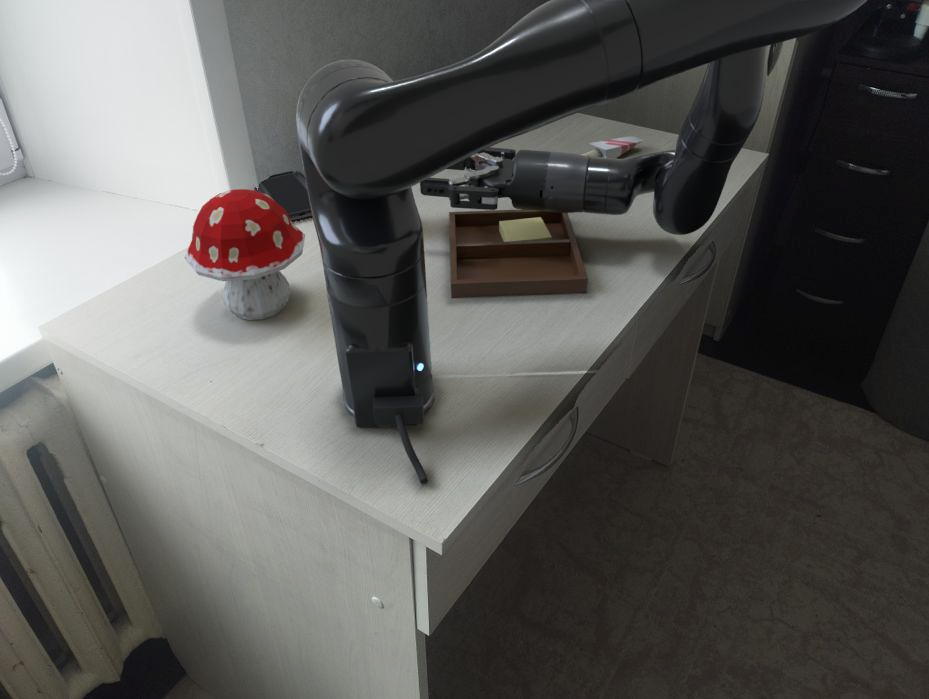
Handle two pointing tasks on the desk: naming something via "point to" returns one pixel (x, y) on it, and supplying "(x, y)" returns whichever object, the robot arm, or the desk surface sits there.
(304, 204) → the phone
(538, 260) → the tray
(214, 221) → the decorative mushroom
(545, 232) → the note pad
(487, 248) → the divider
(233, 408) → the desk surface
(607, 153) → the wrapped churro
